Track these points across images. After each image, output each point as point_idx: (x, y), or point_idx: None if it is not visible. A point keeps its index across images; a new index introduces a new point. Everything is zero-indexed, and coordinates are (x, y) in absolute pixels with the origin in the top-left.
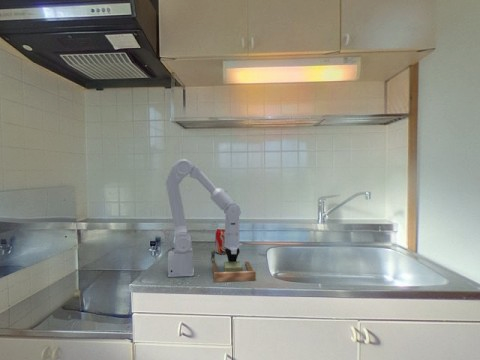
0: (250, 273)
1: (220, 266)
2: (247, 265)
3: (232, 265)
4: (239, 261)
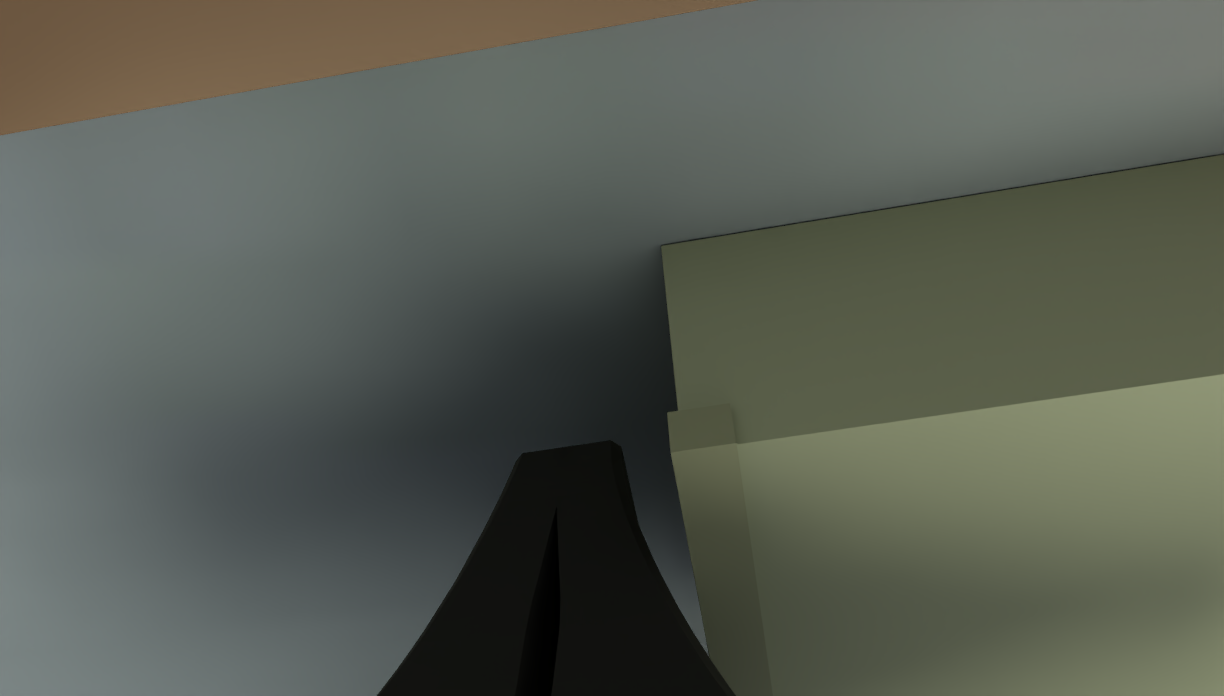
0: None
1: (285, 683)
2: (344, 41)
3: (1134, 628)
4: (692, 461)
